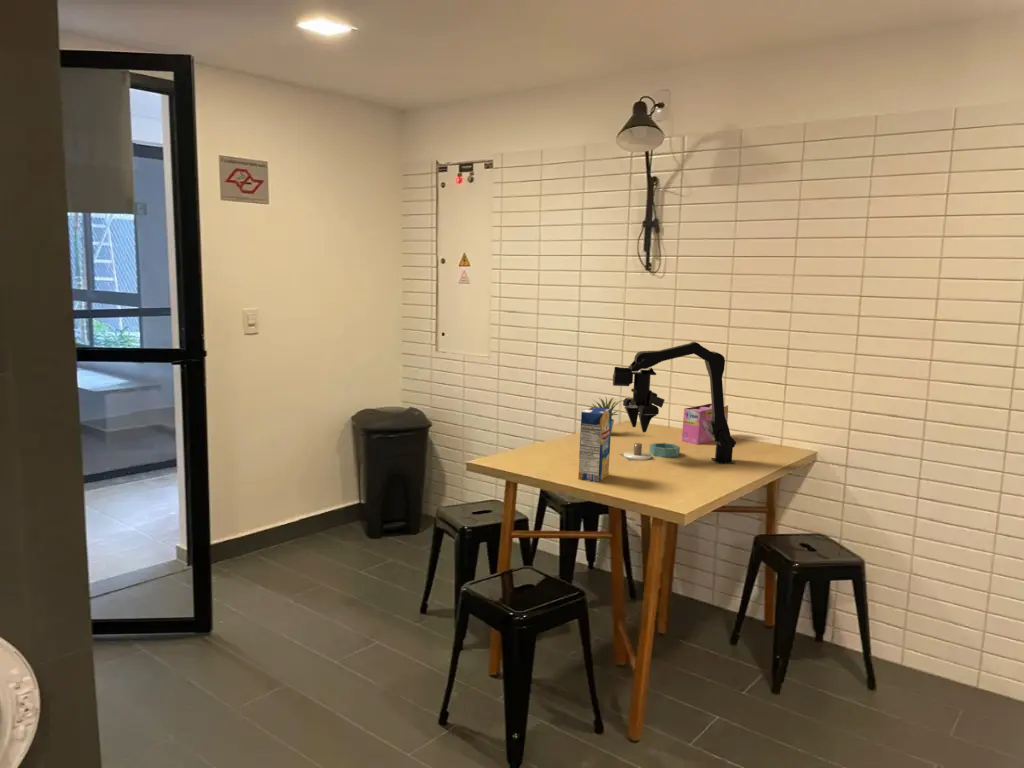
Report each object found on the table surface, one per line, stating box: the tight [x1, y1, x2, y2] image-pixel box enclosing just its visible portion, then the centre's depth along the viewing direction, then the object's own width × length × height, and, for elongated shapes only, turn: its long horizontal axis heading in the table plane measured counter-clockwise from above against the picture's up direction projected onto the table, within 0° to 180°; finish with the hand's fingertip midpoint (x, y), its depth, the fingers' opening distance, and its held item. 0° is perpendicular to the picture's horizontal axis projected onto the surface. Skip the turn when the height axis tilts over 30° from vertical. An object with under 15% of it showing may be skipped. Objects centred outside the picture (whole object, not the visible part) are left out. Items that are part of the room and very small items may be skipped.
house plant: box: [591, 396, 624, 433], centre depth 315 cm, size 14×14×16 cm
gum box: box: [681, 403, 729, 445], centre depth 313 cm, size 24×8×14 cm, turn 135°
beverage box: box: [577, 406, 613, 483], centre depth 246 cm, size 7×11×22 cm, turn 156°
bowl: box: [649, 442, 681, 458], centre depth 281 cm, size 10×10×4 cm
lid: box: [622, 442, 652, 461], centre depth 276 cm, size 10×10×5 cm
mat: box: [619, 453, 656, 462], centre depth 276 cm, size 10×10×1 cm
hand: (639, 429), depth 275 cm, fingers open, 9 cm apart
